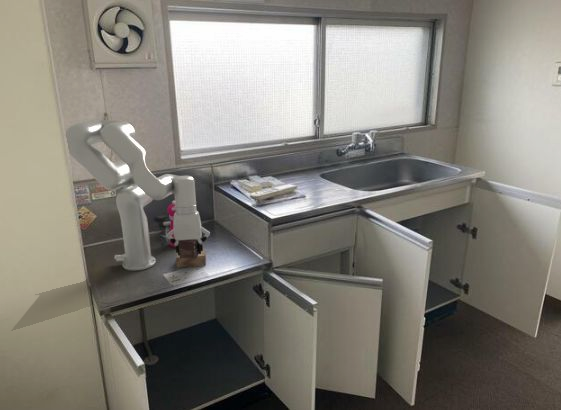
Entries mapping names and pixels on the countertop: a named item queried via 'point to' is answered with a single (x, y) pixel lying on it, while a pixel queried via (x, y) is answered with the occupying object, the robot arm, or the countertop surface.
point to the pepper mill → (171, 219)
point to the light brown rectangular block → (192, 260)
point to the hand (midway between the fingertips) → (189, 253)
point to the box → (188, 248)
